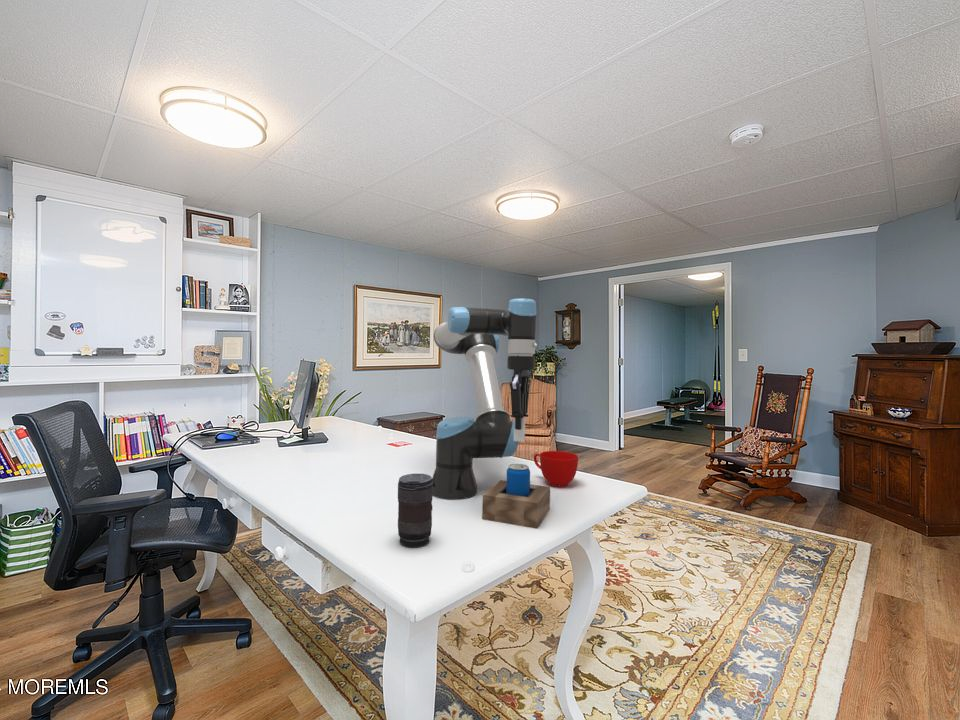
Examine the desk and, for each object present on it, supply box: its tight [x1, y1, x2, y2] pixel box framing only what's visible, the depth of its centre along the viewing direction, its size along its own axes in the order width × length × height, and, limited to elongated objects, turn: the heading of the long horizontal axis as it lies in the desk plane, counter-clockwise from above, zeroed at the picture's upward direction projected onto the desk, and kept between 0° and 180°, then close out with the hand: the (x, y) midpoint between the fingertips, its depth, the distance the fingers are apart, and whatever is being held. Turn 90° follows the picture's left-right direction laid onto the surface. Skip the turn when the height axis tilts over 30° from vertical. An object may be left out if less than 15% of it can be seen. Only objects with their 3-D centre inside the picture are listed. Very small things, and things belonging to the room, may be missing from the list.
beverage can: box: [505, 463, 531, 497], centre depth 121 cm, size 6×6×12 cm
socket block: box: [481, 480, 551, 529], centre depth 121 cm, size 15×15×6 cm
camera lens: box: [397, 473, 434, 548], centre depth 102 cm, size 8×8×15 cm
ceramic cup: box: [533, 450, 579, 488], centre depth 152 cm, size 13×17×10 cm
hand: (519, 440), depth 121 cm, fingers closed
